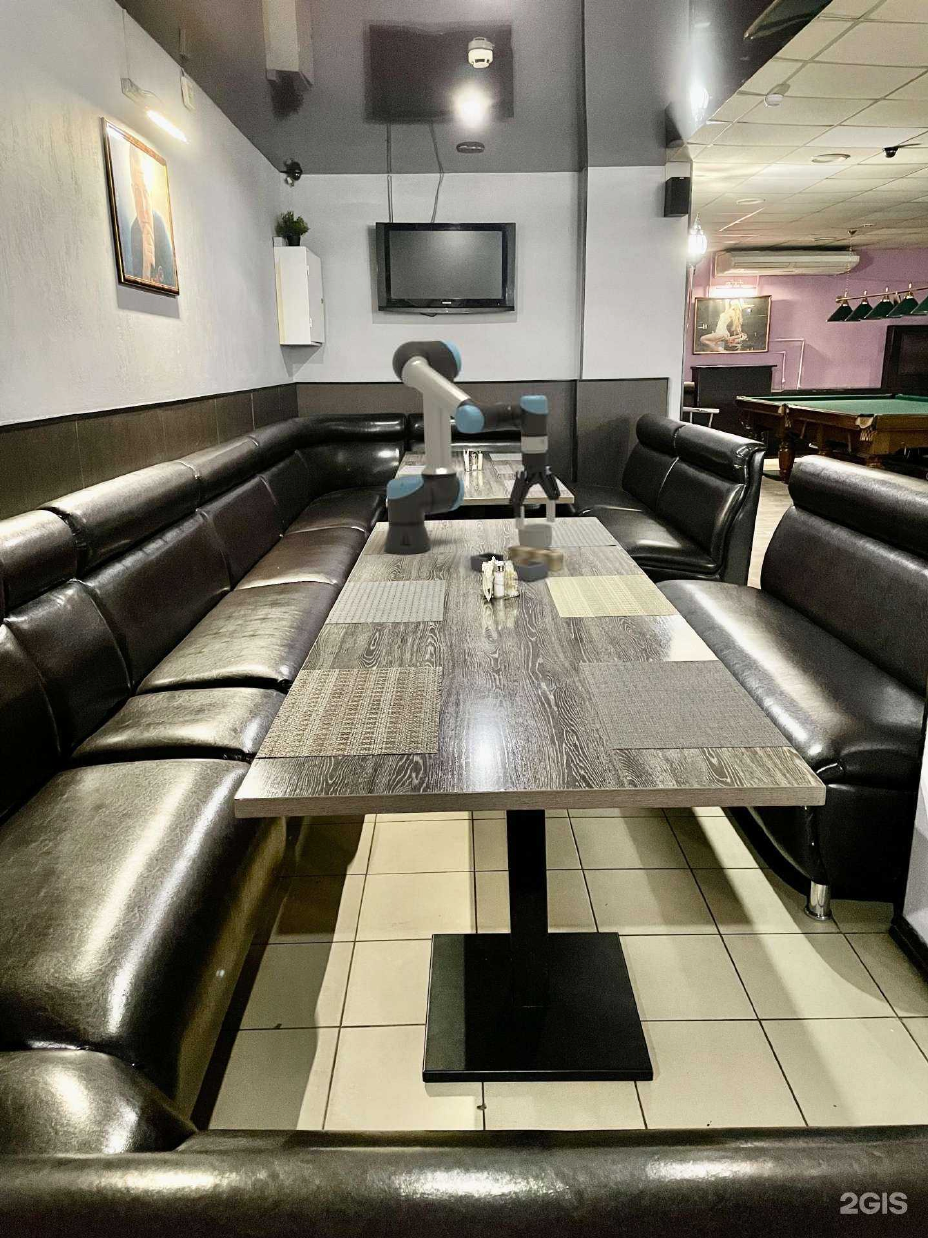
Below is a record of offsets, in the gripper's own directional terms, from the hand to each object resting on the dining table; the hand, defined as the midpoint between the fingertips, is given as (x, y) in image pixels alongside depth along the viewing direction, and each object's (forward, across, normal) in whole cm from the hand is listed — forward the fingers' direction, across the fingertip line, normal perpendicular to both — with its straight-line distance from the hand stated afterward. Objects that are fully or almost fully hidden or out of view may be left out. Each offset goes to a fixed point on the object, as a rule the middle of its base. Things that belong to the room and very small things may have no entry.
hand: (535, 525), depth 255 cm
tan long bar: (+12, 0, 0) cm, 12 cm away
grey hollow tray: (+12, -12, -9) cm, 19 cm away
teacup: (+12, +17, +15) cm, 26 cm away
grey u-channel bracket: (+12, -12, +8) cm, 19 cm away
